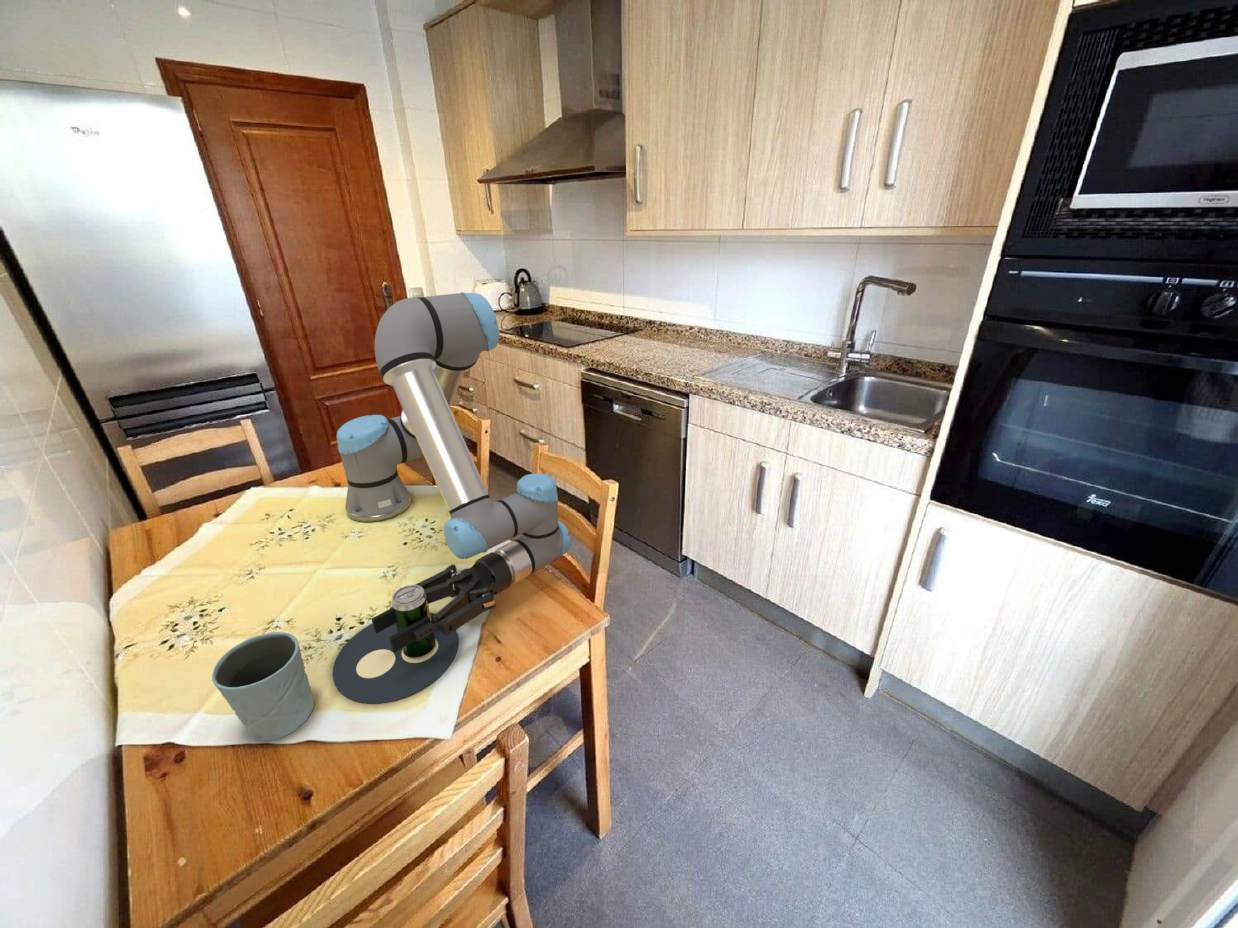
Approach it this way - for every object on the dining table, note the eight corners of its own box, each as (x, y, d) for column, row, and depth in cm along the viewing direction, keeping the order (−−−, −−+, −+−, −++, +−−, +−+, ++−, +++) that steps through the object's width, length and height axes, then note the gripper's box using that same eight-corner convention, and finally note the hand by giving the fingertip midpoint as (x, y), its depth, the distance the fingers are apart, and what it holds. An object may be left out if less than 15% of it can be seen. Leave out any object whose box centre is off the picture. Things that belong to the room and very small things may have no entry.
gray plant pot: (333, 701, 78) (314, 644, 72) (269, 759, 69) (242, 699, 64) (289, 679, 81) (267, 623, 76) (223, 731, 73) (194, 672, 68)
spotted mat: (332, 634, 90) (332, 632, 90) (447, 600, 99) (446, 598, 98) (333, 723, 74) (332, 722, 74) (469, 674, 83) (469, 672, 82)
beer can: (407, 665, 84) (394, 610, 78) (400, 645, 88) (387, 591, 82) (440, 652, 86) (429, 597, 81) (431, 632, 90) (420, 579, 85)
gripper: (534, 606, 92) (415, 684, 76) (476, 564, 103) (362, 625, 87) (531, 573, 89) (406, 647, 73) (472, 533, 100) (352, 591, 84)
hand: (382, 635), depth 80 cm, fingers closed on beer can, 5 cm apart
